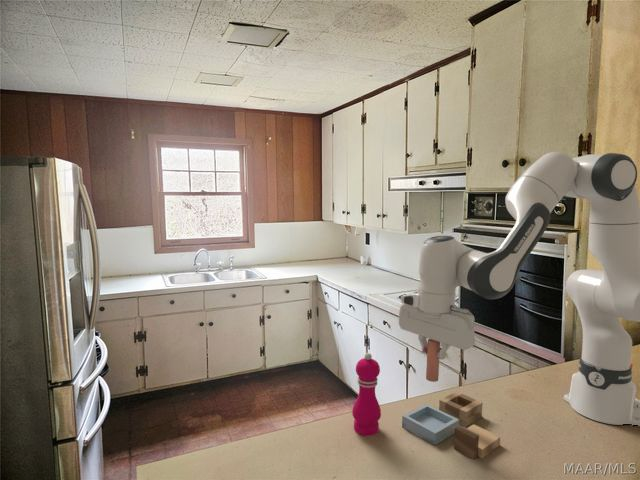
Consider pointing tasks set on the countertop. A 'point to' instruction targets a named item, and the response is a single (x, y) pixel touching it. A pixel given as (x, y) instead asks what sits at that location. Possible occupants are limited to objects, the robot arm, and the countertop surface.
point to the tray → (430, 423)
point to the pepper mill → (367, 397)
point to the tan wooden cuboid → (485, 440)
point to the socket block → (461, 407)
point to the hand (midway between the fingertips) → (433, 355)
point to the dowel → (432, 360)
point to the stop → (466, 442)
